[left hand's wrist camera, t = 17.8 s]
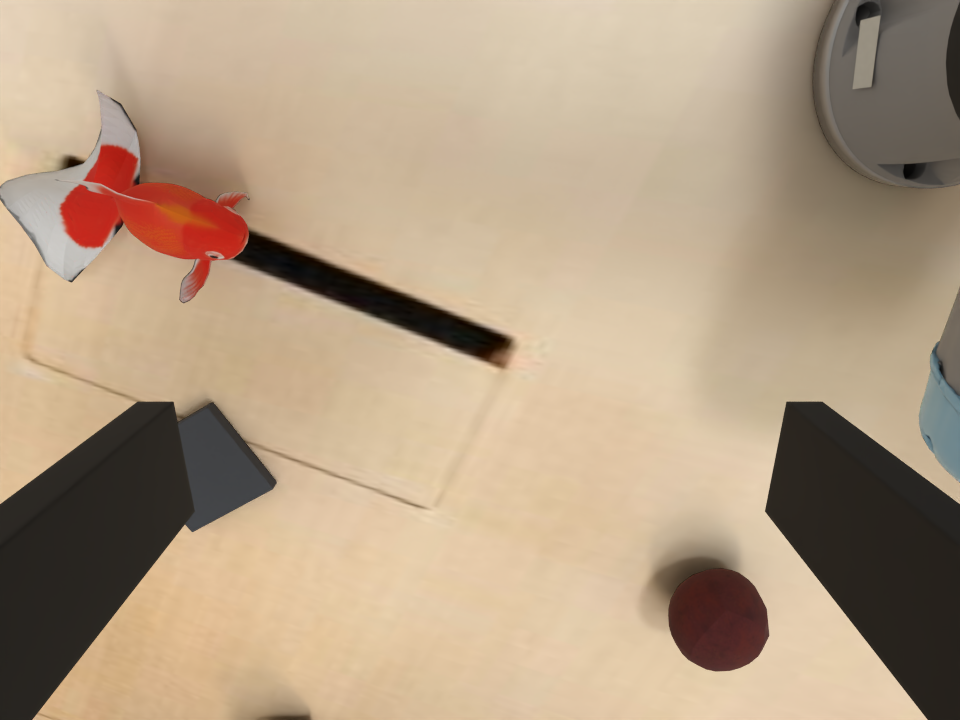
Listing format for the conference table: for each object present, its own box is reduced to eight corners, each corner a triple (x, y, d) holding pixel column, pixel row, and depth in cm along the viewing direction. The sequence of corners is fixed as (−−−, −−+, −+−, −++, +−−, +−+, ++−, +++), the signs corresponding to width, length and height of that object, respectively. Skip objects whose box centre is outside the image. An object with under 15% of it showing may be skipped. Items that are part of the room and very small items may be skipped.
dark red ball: (640, 604, 50) (665, 674, 43) (691, 536, 48) (725, 599, 41) (713, 634, 51) (747, 706, 44) (765, 568, 49) (810, 635, 42)
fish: (214, 372, 38) (83, 339, 28) (63, 252, 42) (-96, 188, 32) (310, 236, 38) (213, 157, 29) (152, 130, 42) (21, 30, 33)
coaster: (212, 401, 44) (207, 407, 43) (277, 482, 46) (273, 489, 45) (130, 449, 45) (123, 455, 44) (197, 525, 47) (191, 532, 46)
